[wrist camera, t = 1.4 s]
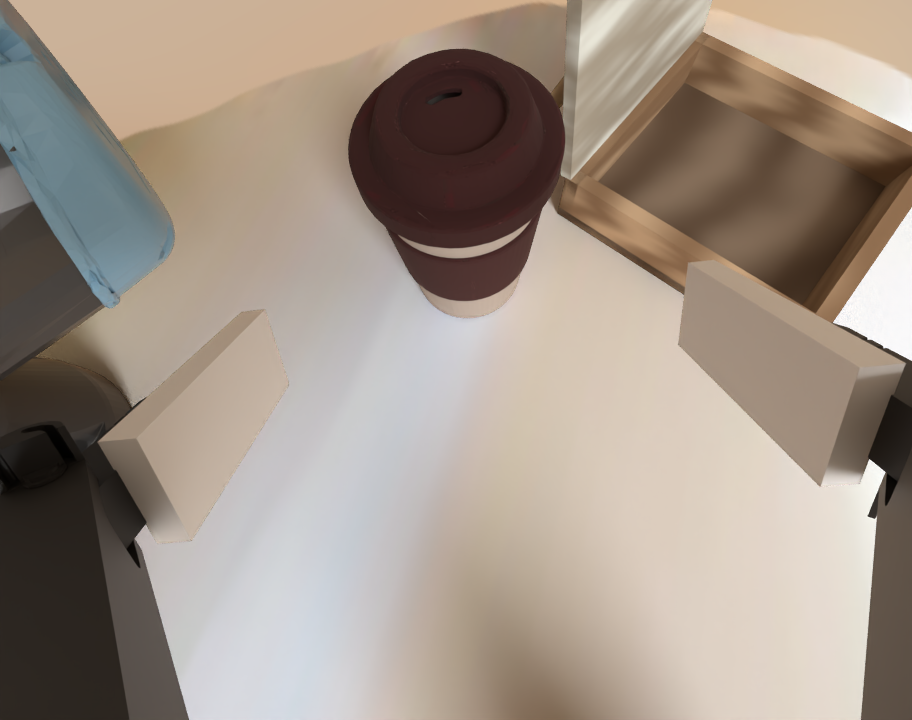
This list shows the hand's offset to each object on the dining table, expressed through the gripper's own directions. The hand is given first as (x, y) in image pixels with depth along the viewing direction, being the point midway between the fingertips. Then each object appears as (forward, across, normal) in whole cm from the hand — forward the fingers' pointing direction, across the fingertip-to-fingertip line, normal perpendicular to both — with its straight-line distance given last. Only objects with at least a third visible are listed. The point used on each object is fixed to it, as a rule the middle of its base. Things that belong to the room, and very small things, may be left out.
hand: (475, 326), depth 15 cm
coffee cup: (+19, 0, -4) cm, 20 cm away
